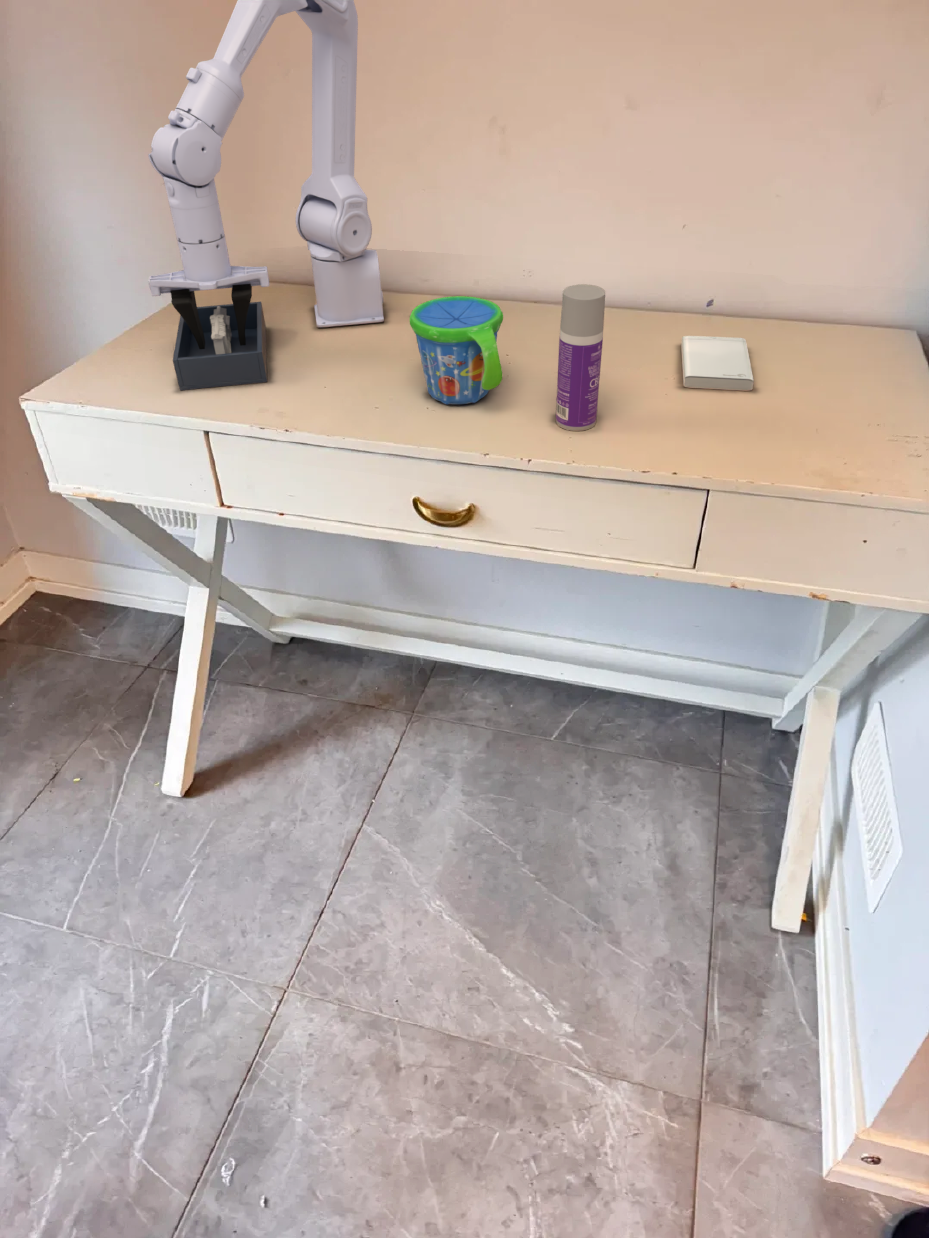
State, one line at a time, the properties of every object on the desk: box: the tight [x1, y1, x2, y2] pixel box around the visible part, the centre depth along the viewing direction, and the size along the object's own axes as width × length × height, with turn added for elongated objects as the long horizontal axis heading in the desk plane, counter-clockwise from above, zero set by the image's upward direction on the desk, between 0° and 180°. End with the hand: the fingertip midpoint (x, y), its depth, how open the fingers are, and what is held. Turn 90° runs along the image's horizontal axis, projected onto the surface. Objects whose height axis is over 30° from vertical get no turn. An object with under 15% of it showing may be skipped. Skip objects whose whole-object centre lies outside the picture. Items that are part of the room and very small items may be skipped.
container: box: [555, 283, 606, 432], centre depth 98 cm, size 5×5×15 cm
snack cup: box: [409, 295, 504, 405], centre depth 106 cm, size 16×10×10 cm
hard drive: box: [680, 335, 755, 392], centre depth 113 cm, size 2×8×12 cm
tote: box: [172, 300, 268, 391], centre depth 117 cm, size 11×17×4 cm, turn 10°
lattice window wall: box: [210, 306, 232, 354], centre depth 116 cm, size 12×2×6 cm, turn 10°
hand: (222, 344), depth 117 cm, fingers open, 5 cm apart
